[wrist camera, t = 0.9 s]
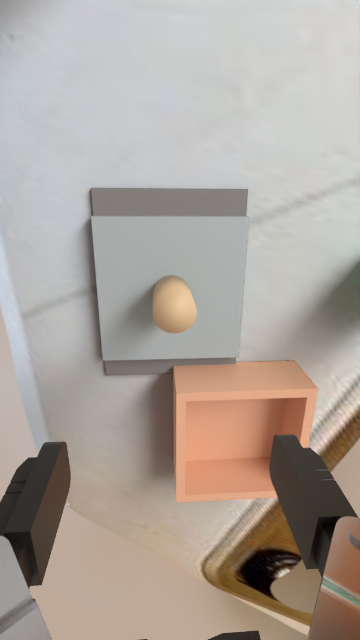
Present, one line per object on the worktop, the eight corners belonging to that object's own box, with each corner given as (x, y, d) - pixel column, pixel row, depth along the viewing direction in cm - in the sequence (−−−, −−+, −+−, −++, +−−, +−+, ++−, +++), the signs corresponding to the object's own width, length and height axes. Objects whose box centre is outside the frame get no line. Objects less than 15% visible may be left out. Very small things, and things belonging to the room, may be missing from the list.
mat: (91, 188, 25) (90, 187, 25) (246, 189, 26) (248, 189, 26) (106, 373, 31) (105, 375, 31) (234, 369, 32) (234, 371, 31)
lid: (93, 215, 26) (75, 221, 20) (246, 216, 27) (270, 221, 21) (104, 355, 30) (92, 392, 24) (236, 352, 31) (254, 387, 25)
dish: (173, 363, 31) (176, 393, 26) (294, 360, 32) (318, 388, 27) (173, 461, 35) (175, 502, 30) (281, 457, 36) (299, 495, 31)
